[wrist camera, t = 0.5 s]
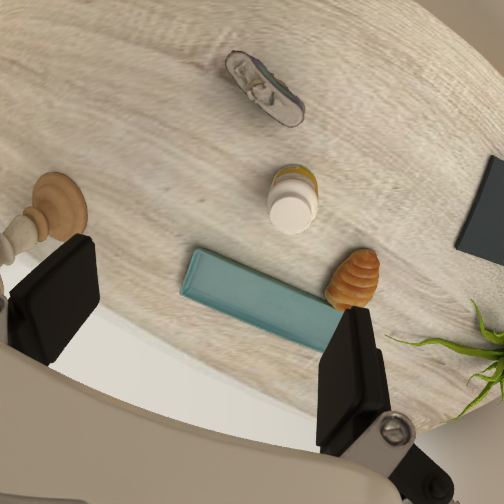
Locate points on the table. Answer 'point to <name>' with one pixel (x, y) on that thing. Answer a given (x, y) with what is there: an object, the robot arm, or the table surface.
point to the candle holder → (45, 218)
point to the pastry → (354, 280)
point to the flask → (265, 89)
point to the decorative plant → (500, 375)
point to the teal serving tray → (259, 300)
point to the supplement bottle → (292, 199)
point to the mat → (486, 217)
